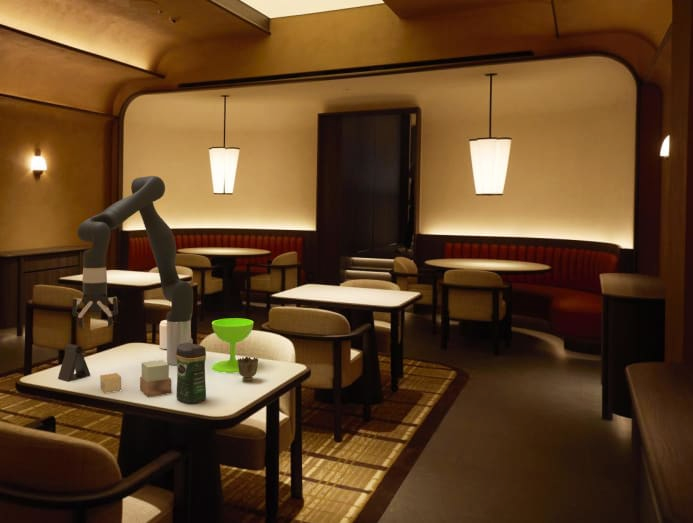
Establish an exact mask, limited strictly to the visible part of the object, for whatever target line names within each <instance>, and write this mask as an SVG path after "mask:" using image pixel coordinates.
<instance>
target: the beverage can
mask: <svg viewBox="0 0 693 523" xmlns="http://www.w3.org/2000/svg"><path fill="white" fill-rule="evenodd" d="M159 348H160V349H162V350H164V349H167V319H164V320H161V321H160V323H159Z"/></svg>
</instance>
